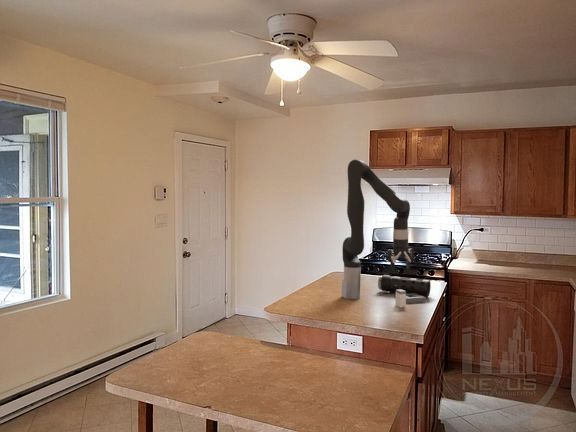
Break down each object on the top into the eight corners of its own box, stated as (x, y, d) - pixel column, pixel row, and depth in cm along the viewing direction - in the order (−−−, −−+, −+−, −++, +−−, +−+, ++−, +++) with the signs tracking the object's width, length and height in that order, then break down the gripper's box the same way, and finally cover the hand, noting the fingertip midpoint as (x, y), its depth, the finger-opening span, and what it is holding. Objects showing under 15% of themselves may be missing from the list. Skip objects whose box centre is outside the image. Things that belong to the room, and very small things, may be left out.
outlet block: (406, 303, 228) (406, 298, 228) (396, 298, 237) (396, 294, 237) (425, 302, 231) (425, 297, 231) (414, 297, 241) (415, 293, 241)
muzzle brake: (426, 299, 237) (427, 281, 236) (377, 293, 251) (377, 275, 250) (430, 296, 245) (431, 278, 245) (382, 290, 259) (382, 273, 258)
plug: (399, 307, 219) (400, 291, 219) (395, 305, 224) (395, 289, 223) (405, 306, 220) (406, 291, 220) (400, 304, 225) (401, 289, 224)
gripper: (391, 239, 216) (391, 271, 217) (416, 238, 220) (416, 269, 221) (384, 237, 224) (384, 268, 225) (409, 236, 227) (409, 267, 228)
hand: (400, 269), depth 223 cm, fingers open, 8 cm apart
